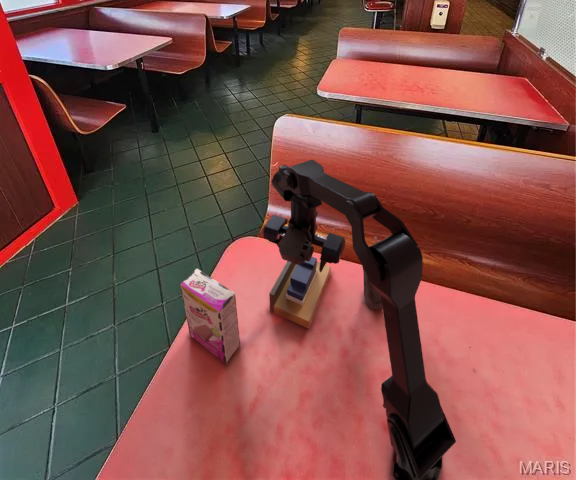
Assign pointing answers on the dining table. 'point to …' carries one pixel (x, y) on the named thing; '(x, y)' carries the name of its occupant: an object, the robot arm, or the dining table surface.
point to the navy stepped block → (302, 281)
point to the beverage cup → (371, 292)
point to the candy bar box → (211, 314)
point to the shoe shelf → (292, 309)
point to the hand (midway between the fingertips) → (303, 264)
